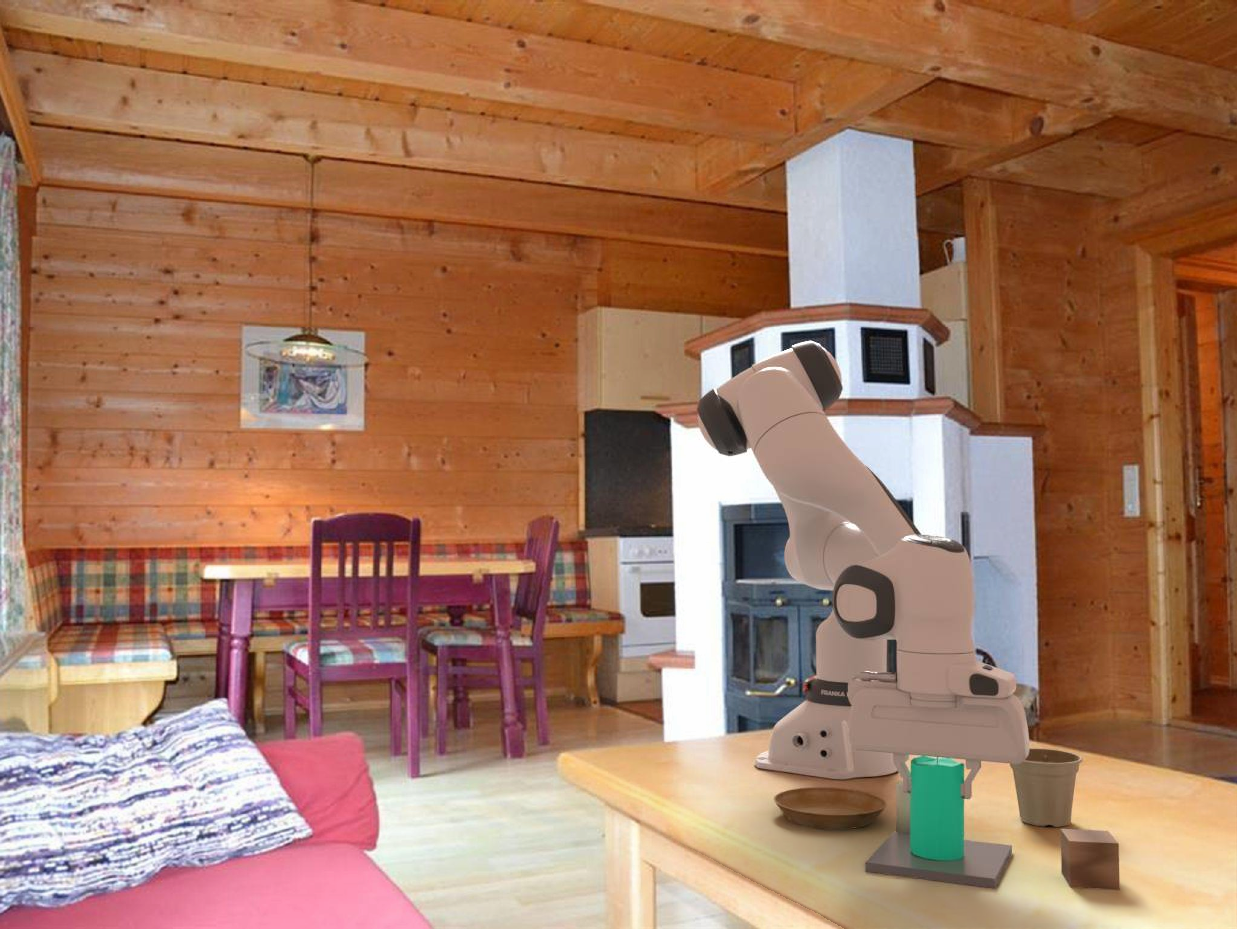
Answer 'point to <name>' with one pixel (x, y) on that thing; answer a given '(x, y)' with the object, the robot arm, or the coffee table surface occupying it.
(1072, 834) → the walnut cube
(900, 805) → the white rounded capsule
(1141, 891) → the coffee table surface
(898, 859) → the coaster
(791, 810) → the plant saucer
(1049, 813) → the flower pot
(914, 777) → the candle
